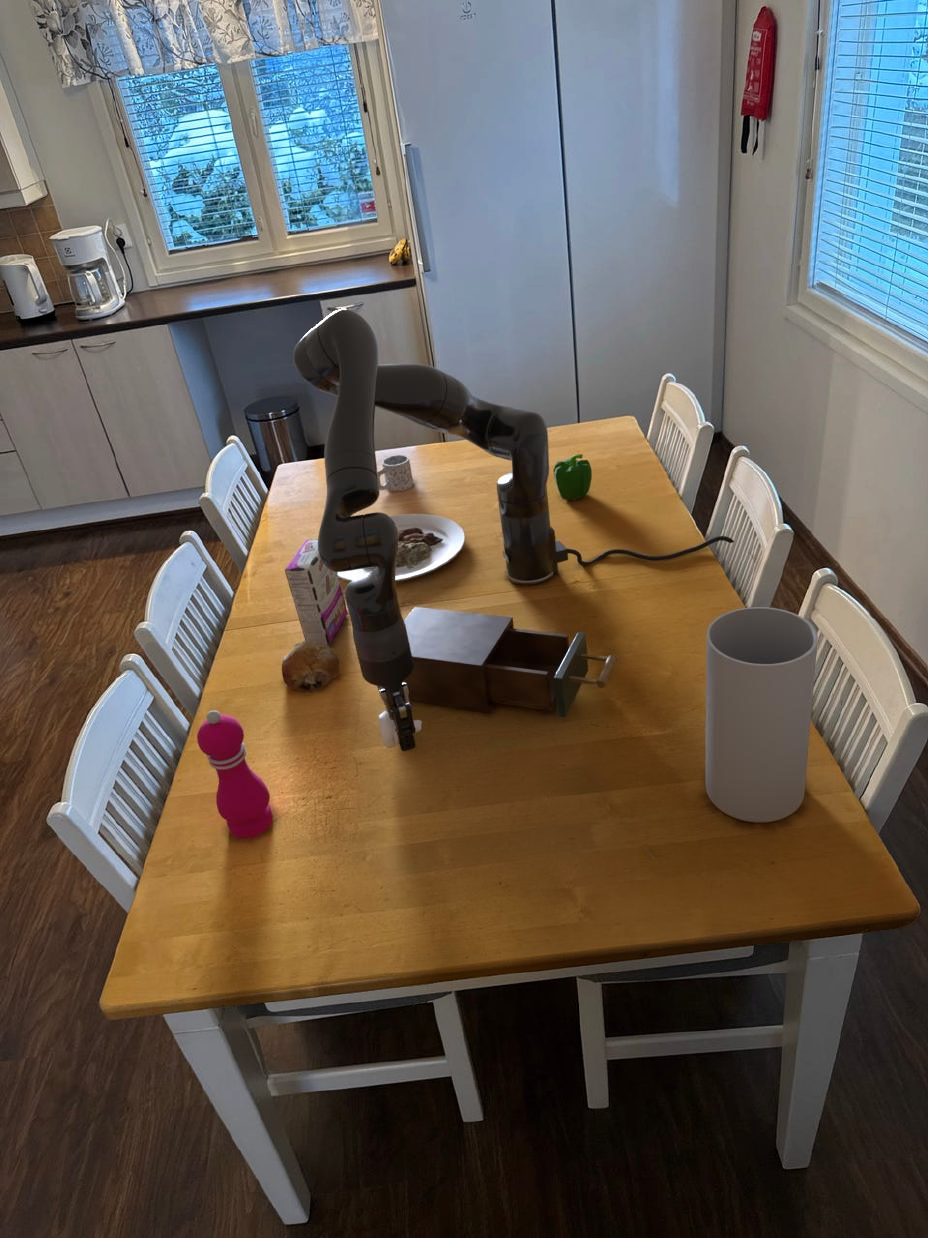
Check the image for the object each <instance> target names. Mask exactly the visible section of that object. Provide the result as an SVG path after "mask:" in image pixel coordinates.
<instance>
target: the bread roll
mask: <svg viewBox="0 0 928 1238" xmlns="http://www.w3.org/2000/svg"><path fill="white" fill-rule="evenodd" d="M339 672H340V658H339V656H338V654H337V652H335V651H334V650H333V649H332V648H331V647H330V646H329V645H325V644H323V643H320V642H317V641H302V642H297V643H295V644H294V646H293V647H292V648H291V650H290V651H289V652H287V654H286V655H285V656H284V657H283V660H282V662H281V674H282V675H281V676H282V679H283V683H284V684H285V685H286V686H287V687H288V688H289V689H291V690H293V691H296V692H297V691H298V692H312V691H316V690H319V689H321V688H324V687H325V686H327V685H328V684H329V683H331V682H333V681H334V680H335V679H336V678H337V676H338V675H339V674H340V673H339Z"/></svg>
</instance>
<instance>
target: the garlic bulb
mask: <svg viewBox="0 0 928 1238" xmlns="http://www.w3.org/2000/svg"><path fill="white" fill-rule="evenodd" d="M391 712H392V710H391ZM413 721H414V726H415V729H416V730H415V732H416V733H414V734H413V735H415V734H417V733H419V732H420V731H421V730H422V724H423V723H422V722H423V721H422V720H420V719H415V720H414V718H413ZM378 724H379V725H378V726H379V731H380V736H381V737H380V738H381V742H382V745H383V746H384V747H385V748H389V749H391V748H394V747H395V748H396V747H399V746H400V744H399V739H398V735H397V732H395V725H394V722H393V720H391V719H390V718H389V716H388V713H387V710H384V711H382V712H381V713H380V714H379V715H378Z"/></svg>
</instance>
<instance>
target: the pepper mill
mask: <svg viewBox="0 0 928 1238" xmlns="http://www.w3.org/2000/svg"><path fill="white" fill-rule="evenodd" d="M244 739H245V733H244V729H243V726H242V724H241V722H240V721H239V720H237V718H235V717H233V716H231V715H229V714H221V713H220V712H219V711H218V710H215V709H213V710H210V711H209V712H207V714H206V720H205V721H203V722H202V723H201V725H200V726H199V728H198V731H197V735H196V740H197V741H196V743H197V744H198V747H199V749H200V751H201V752H202V753H203V754H205V755H206V758H207V760H208V763H209V765H210V767H211V768H213V769H215V771H216V774H217V777H218V786H217V790H216V795H215V796H216V797H215V799H216V801H215V803H216V808H217V811H218V814H219V815H220V817H221V818H222V819H223V820H225V821H226V824H227V827H228V831H229V833H230V834H231V835H232V836H234V837H235V838H238V839H243V840H245V839H251V838H255V837H257V836H260V835H262V834H263V833H265V832H266V831H267V830H268V829H269V827H270V826H271V825H272V823H273V820H274V814H273V810H272V808H271V805H270V804H269V803H270V800H271V799H270V798H271V796H270V791H269V788H268V786H267V784H266V783H265V782H264V781H263V779H262V778H261V777H260V776H259V775H258V774H257V773H255V771H253V770H252V769H251V768H250V766H249V765H248V763H247V761H246V756H247V749H246V747H245V743H244Z"/></svg>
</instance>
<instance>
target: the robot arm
mask: <svg viewBox="0 0 928 1238" xmlns="http://www.w3.org/2000/svg"><path fill="white" fill-rule="evenodd" d="M292 360H293V364H294V366H295V369H296V372H298V374H299V375H300V376H301V377H302V378H303V379H304V380H305V381H306V382H307V383H308V384H309V385H310V386H312V387H314V388H316V389H317V390H319V391H320V392H323V393H326V394H328V395H331V396H334V397H336V401H335V405H334V408H333V412H332V416H331V419H330V423H329V426H328V430H327V433H326V438H325V444H324V451H323V452H324V453H323V454H324V455H323V456H324V457H323V458H324V459H323V460H324V468H325V469H324V471H325V482H326V484H325V485H326V497H325V504H324V510H323V515H322V518H321V523H320V527H319V531H318V536H317V537H318V538H317V539H318V552H319V556H320V558H321V560H322V562H323V563H324V565H325V566H326V567H327V568H328V569H330V570H331V571H334V572H345V571H351V570H357V569H364V568H370V567H376V568H375V569H374V570H372V571H371V572H369V573H366V574H364V575H361V576H359V577H357V578H355V579H353V580H352V581H349V582H348V583H347V584H346V586H345V589H344V600H345V604H346V608H347V612H348V616H349V620H350V624H351V630H352V639H353V643H354V647H355V651H356V656H357V659H358V664H359V668H360V671H361V675H362V678H363V679H364V681H366V682H367V683H369V684H370V685H373V686H376V687H377V691H378V693H379V696H380V699H381V701H382V702H383V705H384V706H385V710H386V711H387V713H388V716H389V718H390V719H391V720H393V722H394V725H395V732H397V735H398V739H399V748H400V750H401V751H402V752H403V753H405V752H409V751H411V750H414V749H415V748H416V747H417V746H416V740H415V736H414V735H415V734H417V733H416V732H415V730H416V729H415V726H414V721H415V720H414V721H413V719H414V715H413V709H412V704H411V702H410V701H409V698H408V695H409V691H408V687H407V684H406V683H404V680H405V679H406V678H407V677H408V676H409V675H410V674H411V672H412V671H413V667H414V663H413V658H412V654H411V649H410V644H409V639H408V635H407V630H406V626H405V623H404V620H405V619H404V617H403V614H402V611H401V608H400V607H401V606H400V602H399V596H398V591H397V583H396V582H397V581H395V572H396V560H397V553H398V543H399V535H398V529H397V526H396V524H395V522H394V521H393V520H392V519H391V517H389V515H388V514H387V513H385V512H381V511H376V512H369V513H364V514H357V515H355V514H356V513H359V512H361V511H364V510H366V509H368V508H369V507H371V506H373V505H374V504H375V503H376V502H377V501H378V499H379V496H380V490H379V481H378V464H377V463H378V462H377V454H376V447H375V446H376V445H375V414H376V408H377V409H380V410H382V411H385V412H388V413H391V414H393V415H396V416H399V417H401V418H404V419H406V420H408V421H410V422H412V423H414V424H417V425H419V426H422V427H424V428H427V429H429V430H432V431H434V432H435V431H436V432H438V433H442V434H446V435H449V436H456V437H460V438H462V439H465V440H466V441H468V442H469V443H471V444H473V445H475V446H476V447H478V448H480V449H481V450H483V451H484V452H486V453H487V454H490V455H492V456H493V457H496V458H499V459H503V460H506V461H511V471H510V472H508V473H505V474H504V475H502V476H501V477H500V478H499V479H498V480H497V482H496V493H497V494H496V495H497V502H498V508H499V509H498V510H499V518H500V525H501V535H502V542H503V550H502V557H503V558H504V560H505V567H506V568H505V569H506V576H507V579H508V580H509V581H510V582H511V583H513V584H516V585H522V586H533V585H538V584H542V583H544V582H547V581H549V580H551V578H553V577H554V576H556V575H559V565H558V564H560V563H563V562H566V561H569V554H571V555H574V556H576V561H577V563H578V565H579V566H582V567H586V566H589V565H592V564H595V563H596V562H599V561H600V560H602V559H604V558H606V557H608V556H611V555H616V554H617V555H618V554H619V555H628V556H631V557H635V558H637V559H641V560H645V561H653V562H654V561H655V562H657V561H658V562H659V561H667V560H671V559H675V558H678V557H682V556H685V555H688V554H691V553H695V552H698V551H699V550H702V549H705V548H706V547H708V546H710V545H712V544H714V543H717V542H719V541H720V542H721V541H723V542H727V543H729V544H733V543H735V540H733V539H732V537H729V536H725V535H718V536H716V537H712V538H710V539H708V540H706V541H704V542H702V543H700V544H697V545H696V546H693V547H688V548H686V549H682V550H680V551H676V552H674V553H670V554H665V555H648V554H643V553H639V552H636V551H634V550H629V549H624V548H623V549H622V548H616V549H615V548H614V549H609V550H606V551H604V552H602V553H600V554H599V555H598V556H596V557H595V558H593V559H592V560H590V561H584V560H583V557H582V554H581V553H580V552H579V550H576V549H573V548H568V547H566V545H564V544H563V543H562V541H560V540H556V533H555V529H554V528H553V527H552V526H551V517H550V506H549V497H548V479H549V476H550V452H549V433H548V428H547V427H548V426H547V424H546V422H545V419H544V417H543V416H542V415H541V414H540V413H538V412H535V411H531V410H527V409H524V408H523V409H522V408H517V407H513V406H507V405H500V404H496V403H492V402H490V401H486V400H483V399H480V398H479V397H476V396H474V395H473V394H472V393H471V392H470V390H469V388H468V387H467V386H466V385H465V384H464V383H463V382H462V381H460V380H459V379H458V378H456V377H454V376H453V375H450V374H448V373H447V372H445V371H442V370H440V369H439V368H436V367H434V366H432V365H427V364H423V363H389V364H379V346H378V341H377V337H376V334H375V332H374V330H373V329H372V327H371V325H370V324H369V322H368V321H367V320H366V319H365V318H364V317H363V316H362V315H361V314H359V313H358V312H357V311H354V310H352V309H348V308H341V309H338V310H335V311H333V312H332V313H330V314H329V315H327V316H326V317H325V318H323V320H321V321H320V322H319V323H318V324H316V325H315V326H314V327H313V328H311V329H310V330H309V331H308V332H307V333H305V335H304V336H303V337H302V338H300V340H298V341H297V344H296V345H295V347H294V348H293V352H292ZM391 710H392V712H391ZM414 733H415V734H414Z"/></svg>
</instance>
